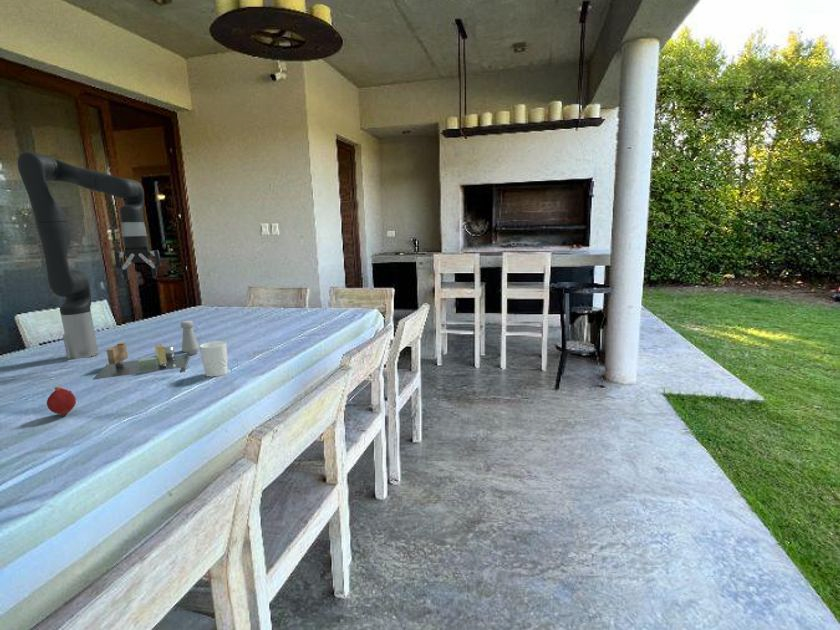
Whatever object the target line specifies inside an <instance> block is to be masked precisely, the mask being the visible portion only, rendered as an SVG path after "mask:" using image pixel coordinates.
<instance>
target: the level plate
mask: <svg viewBox="0 0 840 630" xmlns="http://www.w3.org/2000/svg"><path fill="white" fill-rule="evenodd" d="M164 347H165V354H166V361H167V363H166V365H167V366H166V367H158V361H157V357H156V356H154V357H148V358H140V359H136V360H128V361H123V364H124V366H122V367H115V364H109V363H107V364H105V365H104V367H103V368H102V369H100V371H99V372H98V373H97V374H96V375H95V376H94V377H93V378H91V379H92V380H99V379H109V378H114V377H115V378H116V377H122V376H128V375H129V376H131V375H138V374H145V373H152V372H159V371H166V370H174V369H180V370H179V373H183V372H182V371H184V372H186V371H187V368H188V365H187V364H189V362H190V359H191V356H190V354H187V353H185V354H177V355H175V350H174V349H175V348H174V346H172V345H171V346H164ZM188 361H189V362H188ZM186 367H187V368H186ZM185 370H186V371H185Z"/></svg>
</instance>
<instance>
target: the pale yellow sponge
mask: <svg viewBox="0 0 840 630" xmlns="http://www.w3.org/2000/svg"><path fill="white" fill-rule="evenodd" d="M165 347H166V346H163V345H162V344H156V345H154V352H155V355H156V356H155V357H157V361H158V367H166V366H167V365H166V363H167V361H166V354H165Z"/></svg>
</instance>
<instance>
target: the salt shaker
mask: <svg viewBox="0 0 840 630" xmlns="http://www.w3.org/2000/svg"><path fill="white" fill-rule="evenodd" d="M193 327H194V322H193V321H192V320H184V321H181V323H180V328H182V330H183V331H182V341H181V351H182V352H183V353H186V354H190V355H191V356H195V355H197V354H198V352H199V350H200V345H199V343H198V340H197V337H196V334H195V332H194V329H193Z"/></svg>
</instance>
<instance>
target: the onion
mask: <svg viewBox="0 0 840 630" xmlns="http://www.w3.org/2000/svg"><path fill="white" fill-rule="evenodd" d="M76 403H77V400H76V395H74V394H73V392H72V391H70V390H69V389H66V388H62V387H61V386H56V387H54V391H53V392H51V393H50V395H49V396H48V398H47V400H46V406H47V408H48V410H49V411H50V412H52V413H54V414H57V415H59V416H62V417H63V416H66V415H68V413H70V412H71V411H72V410H73V409H74V407H75V405H76Z"/></svg>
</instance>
